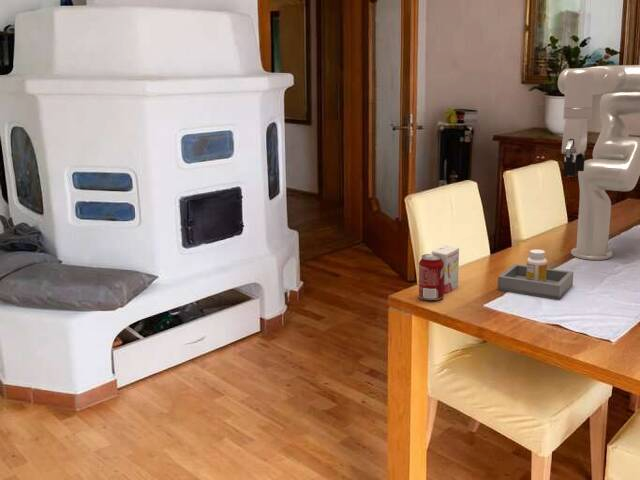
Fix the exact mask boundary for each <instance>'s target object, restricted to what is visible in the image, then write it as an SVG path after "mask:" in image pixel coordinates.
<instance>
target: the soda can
mask: <svg viewBox="0 0 640 480" xmlns="http://www.w3.org/2000/svg"><path fill="white" fill-rule="evenodd" d="M418 297H419V298H421V299H422V300H424V299H425V300H424V301H426V300H437V301H440V300H441V299H443V298H444V297H445V294H444V262H443V260H442V256H441V255H438V254H432V253H425V254H422V255H421V259H420V260H419V262H418ZM439 299H440V300H439Z"/></svg>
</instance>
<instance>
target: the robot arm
mask: <svg viewBox="0 0 640 480" xmlns="http://www.w3.org/2000/svg"><path fill="white" fill-rule="evenodd" d="M557 88H558V90H559V92H560V93H561V94H563V95H564V100H563V101H564V102H563V118H562V119H563V120H564V121H565V122H564V127H563V134H562V140H561V142H562V143H561V154H563V155H564V160H563V162H564V163H563V176H565V177H566V176H567V177H575V176H576V173H577V174H578V176H577V177H578V178H577V179H578V185H579V203H578V204H579V206H578V217H577V219H578V220H577V235H576V247H574V248H572V249H571V250H570V254H571V255H572V256H573V257H576V258H578V259H582V260H583V259H584V260H590V261H591V260H594V261H601V260H608V259H611V258H612V257H613V252H612V250H610V249H609V235H610V225H611V224H610V223H611V213H612V211H611V210H612V201H611V199H610V196H609V195H608V193H606V191H615V192H617V191H618V192H630V191H632V190H634V188H635V187H636V185H637V183H638V181H639V179H640V137H637V136H629V135H630V129H629V127H628V125H627V124H626V122H625V121H624V120H623V119H622V118H621V117H620V116H623V117H625V116H629V117H631V116H633V117H634V116H635V117H636V116H639V117H640V64H632V65H630V64H629V65H628V64H626V65H625V64H624V65H623V64H622V65H621V64H620V65H597V66H590V67H583V68H582V67H579V68H577V67H576V68H565V69H563V70H562V71H561V72H560V74H559V75H558V79H557ZM594 95H602V96H601V97H600V101H599V116H600V122H601V131H600V133H599V135H598V137H597V139H596V143H595V145H594V147H593V150H592V158H590V159H589V158H588V159H587V160H585V159H586V157H585V156H586V154H585V152H586V150H587V147H588V145H587V144H588V129H589V128H588V127H589V123H588V121H589V120H592V116H593V114H592V113H593V99H594Z"/></svg>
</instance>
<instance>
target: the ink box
mask: <svg viewBox="0 0 640 480" xmlns="http://www.w3.org/2000/svg"><path fill="white" fill-rule="evenodd" d="M430 254H438V255H441V256H442V260H443V262H444V295H447V294H448V293H450V292H451V291H452V290H454V289H456V288H457V287H459V271H460V270H459V268H460V267H459V265H460V264H459V261H460V248H459V247H456V246H451V245H446V244H445V245H442V246H440V247H437V248H436V249H435V248H434V249H433V250H431V253H430Z"/></svg>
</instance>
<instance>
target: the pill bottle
mask: <svg viewBox="0 0 640 480" xmlns="http://www.w3.org/2000/svg"><path fill="white" fill-rule="evenodd" d="M545 256H546V251H545V250H543V249H531V250H529V257H528V258H527V259H526V266H527V273H526V280H533V281H540V282H546V271H547V268H548V266H547V265H548V261H547V259H546V258H545Z"/></svg>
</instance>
